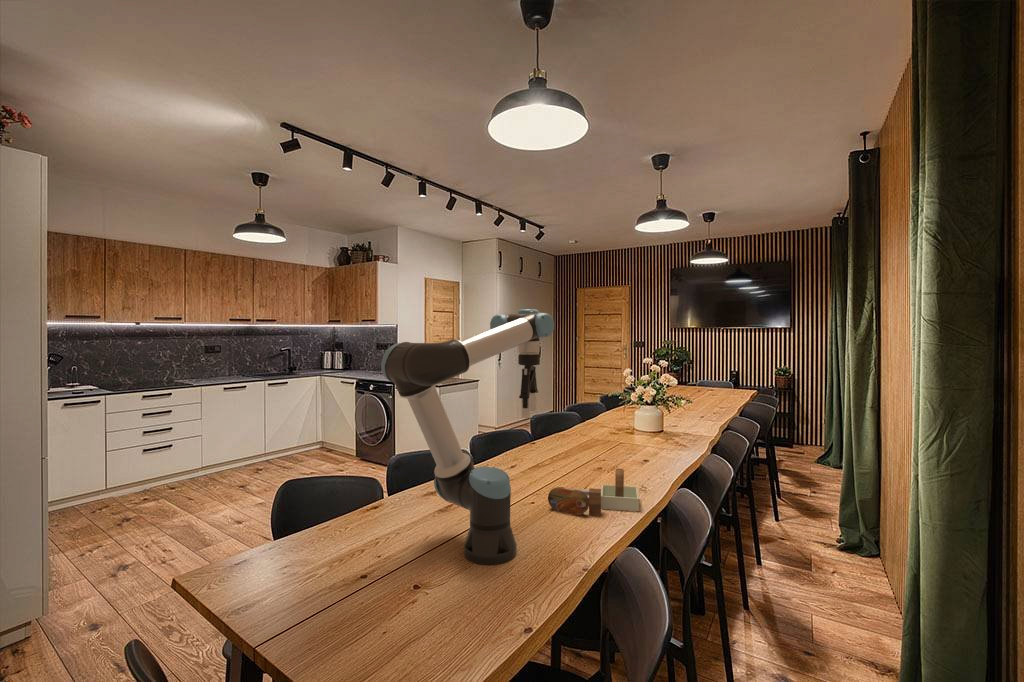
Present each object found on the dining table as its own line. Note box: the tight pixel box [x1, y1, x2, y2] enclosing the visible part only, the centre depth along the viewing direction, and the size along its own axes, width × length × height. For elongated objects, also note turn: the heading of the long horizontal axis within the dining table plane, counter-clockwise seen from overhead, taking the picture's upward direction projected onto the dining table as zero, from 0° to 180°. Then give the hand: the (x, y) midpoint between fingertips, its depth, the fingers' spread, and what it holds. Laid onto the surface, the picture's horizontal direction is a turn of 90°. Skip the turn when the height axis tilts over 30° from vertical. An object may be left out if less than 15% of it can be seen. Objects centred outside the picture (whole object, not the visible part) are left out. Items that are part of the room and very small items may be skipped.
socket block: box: [575, 488, 589, 499], centre depth 179 cm, size 9×9×3 cm
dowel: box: [614, 468, 625, 497], centre depth 176 cm, size 3×3×12 cm
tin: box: [547, 486, 589, 516], centre depth 168 cm, size 15×3×8 cm, turn 58°
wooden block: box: [588, 487, 602, 517], centre depth 167 cm, size 4×4×8 cm
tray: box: [600, 484, 640, 512], centre depth 176 cm, size 13×13×5 cm
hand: (529, 414), depth 167 cm, fingers open, 13 cm apart
